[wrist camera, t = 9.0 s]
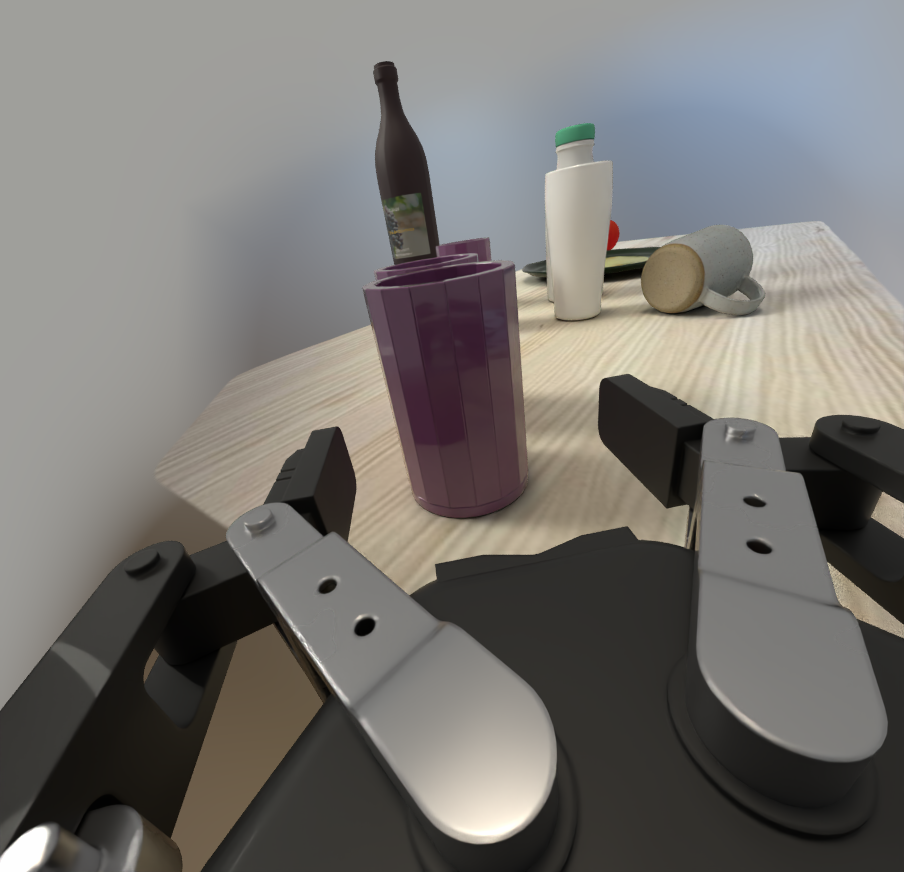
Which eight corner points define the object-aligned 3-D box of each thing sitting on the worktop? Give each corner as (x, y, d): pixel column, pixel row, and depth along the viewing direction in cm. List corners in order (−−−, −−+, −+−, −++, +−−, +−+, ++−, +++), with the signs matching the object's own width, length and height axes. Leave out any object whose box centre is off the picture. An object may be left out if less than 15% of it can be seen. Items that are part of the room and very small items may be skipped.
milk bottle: (604, 300, 52) (611, 113, 43) (545, 305, 55) (539, 129, 46) (601, 290, 59) (606, 125, 50) (549, 295, 61) (544, 139, 52)
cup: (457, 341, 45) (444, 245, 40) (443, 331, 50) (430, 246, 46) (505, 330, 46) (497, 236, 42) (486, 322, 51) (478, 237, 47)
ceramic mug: (632, 312, 44) (638, 237, 41) (677, 297, 48) (687, 226, 44) (731, 325, 36) (750, 232, 32) (778, 305, 39) (801, 219, 36)
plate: (503, 291, 71) (502, 277, 70) (541, 268, 92) (541, 257, 91) (680, 277, 59) (682, 259, 57) (677, 254, 80) (679, 241, 79)
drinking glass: (609, 307, 48) (615, 162, 41) (605, 321, 43) (611, 157, 36) (553, 311, 51) (550, 176, 44) (543, 324, 46) (538, 173, 39)
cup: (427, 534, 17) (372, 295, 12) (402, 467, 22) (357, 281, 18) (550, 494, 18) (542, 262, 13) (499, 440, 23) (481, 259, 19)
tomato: (570, 257, 104) (570, 222, 100) (609, 251, 104) (610, 215, 100) (583, 259, 95) (583, 221, 91) (625, 253, 95) (627, 213, 91)
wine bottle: (397, 319, 62) (345, 75, 48) (432, 308, 66) (393, 78, 52) (421, 322, 57) (372, 50, 43) (458, 311, 61) (423, 55, 47)
